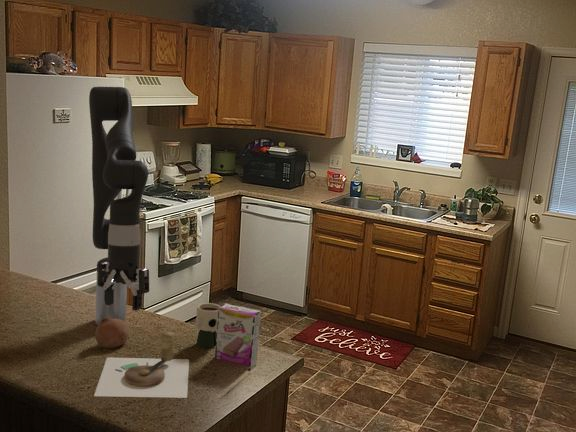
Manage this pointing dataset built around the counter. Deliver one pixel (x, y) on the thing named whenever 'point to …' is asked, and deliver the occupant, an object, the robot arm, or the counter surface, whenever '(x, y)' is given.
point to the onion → (111, 333)
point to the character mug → (207, 324)
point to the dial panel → (170, 387)
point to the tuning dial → (152, 374)
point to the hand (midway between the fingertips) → (122, 307)
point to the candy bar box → (237, 334)
